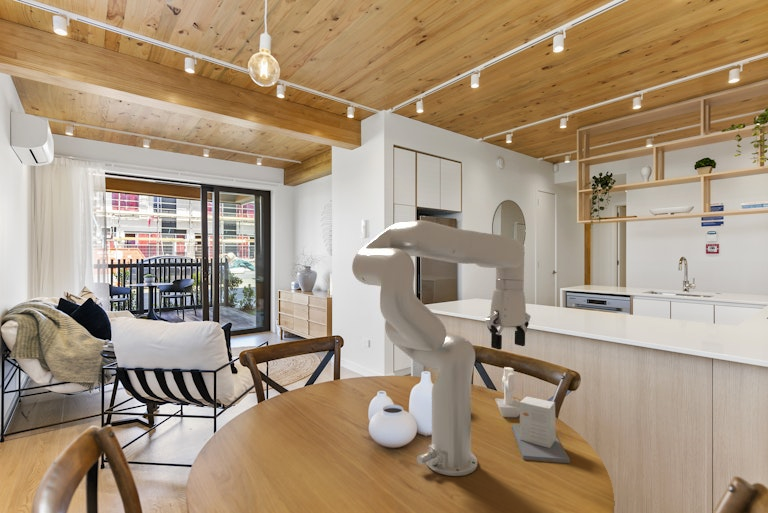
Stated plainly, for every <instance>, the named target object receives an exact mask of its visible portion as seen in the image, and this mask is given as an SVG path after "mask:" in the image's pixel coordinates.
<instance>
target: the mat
mask: <svg viewBox="0 0 768 513" xmlns="http://www.w3.org/2000/svg"><path fill="white" fill-rule="evenodd" d="M511 429H512V433H513V435H514V438H515V441H516V444H517V447H518V449H519V452H520V454H521V458H522V460H525V461H535V462H537V461H538V462H549V463H551V462H552V463H559V464H560V463H561V464H570V463H571V459H570V457H569V455H568V454H567V452H566V450H565V448H564V447H563V445H562V443H561V442H560V440H559V439H558V437H557V436H556V440H555V442H554V443H553V444H552V446H551V447H550V448H548V447H544V446H540V445H537V444H533V443H530V442H526V441H522V440H520V424H519V425H518V424H511Z"/></svg>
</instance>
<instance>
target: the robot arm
mask: <svg viewBox="0 0 768 513" xmlns="http://www.w3.org/2000/svg"><path fill="white" fill-rule="evenodd" d="M412 257H418V258H427V259H431V260H436V261H437V260H438V261H443V262H446V263H447V262H448V263H453V264H468V265H469V264H470V265H472V264H475V265H476V266H478V267H481V268H485V269H486V268H489V269H495V290H493V293H492V297H491V305H490V314H489V316H488V317H486V318H485V323H486V325H487V329H488V330H489V334H491V338H490V340H491V341H490V346H491V349H496V350H502V348H503V347H502V345H503V344H502V343H503V336H502V334H501V333H502V331H503V330H504V328H515V329H516V330H514V344H515V345H516V346H519V347H520V346H521V347H525V346H526V332H527V331H528V326H529V324H530V321H531V320H530V319H531V315H530V314H529V313H528V312H527V310H526V307H527V306H526V297H525V290H524V289H525V287H524V286H525V281H524V280H525V246H524V244H523V243H522V242H520V241H519V240H517V239H516V238H512V237H507V236H505V235H501V234H496V233H487V232H480V231H475V230H469V229H468V230H467V229H461V228H458V227H453V226H448V225H446V224H442V223H438V222H434V221H433V222H432V221H429V220H422V219H421V220H420V219H418V220H409V221H399V222H395V223H394V224H392V225H391V226H389V227H387V228H386V229H385V230H384V231H383V232H381V233H380V234H378V235H377V236H376V237H375V238H373V239H372V240H371V241H370V242H369V243H367V244H365V245H364V246H363V247H361V249H359V250H358V252H357V253H356V254H355V256H354V258H353V260H352V264H351V265H352V266H351V270H352V273H353V275H354V277H355V278H356V280H358V282H360V283H362V284H364V285H368V286H369V285H370V286H377V287H378V286H379V287H380V293H379V306H380V308H379V309H380V312H381V313H380V314H382V317H383V318H384V320H385V324H384V328H385V332H386V336H387V337H388V339H389V341H390V342H391V343H392V344H393V345H394V346H396V348H398V349H399V350H400V351H402V352H403V353H404V354H405V355H407V356H408V357H409V358H411V360H413V361H414V362H416V363H418V364H420V365H422V366H424V367H427V368H430V369H433V370H435V371H437V372H438V374H437V377H436V378H435V380H434V382H433V384H432V387H431V444H429V445H428V450H427V451H426V452H425V453H422V454H419V455H417V456H416V461H417V464H419V465H423V464H426V465H427V467H428V468H430V469H431V470H432V471H434V472H435V473H438V474H441V475H445V476H449V477H450V476H451V477H460V476H462V477H463V476H466V475H469V474H471V473H474V471H475V470H476V469H477V467H478V459H477V457H476V455H475V454H474V453H473V452H472V450H471V449H472V442H471V441H472V434H471V432H472V394H471V393H472V380H473V378H472V377H473V374H474V373H473V371H474V367H475V362H476V350H475V347H474V345H473V343H471V341H470V340H468V339H467V338H465V337H463V336H461V335H458V334H453V333H448V332H447V330H446V327H445V325H444V323H443V321H442V320H441V319H440V318H439V317H438V316H437V315H436V314H435V313H434V312H433V311H432V310H431V309H430V308H429V307H428V306H426V305H425V304H424V303H423V302H422V301H421V300H420V299H419V298H418V297H417V296H416V293H415V289H414V285H415V284H414V283H415V272H416V271H415V263H414V261H413V258H412Z"/></svg>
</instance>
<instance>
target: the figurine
mask: <svg viewBox="0 0 768 513" xmlns="http://www.w3.org/2000/svg"><path fill="white" fill-rule="evenodd" d="M516 378H517V376H516V374H515V373H514V368H512V367H509V366H508V367H507V366H504V367H503V376H502V379H501V390H502V391H503V393H504V394H503V396H504V397H503V398H495V399H494V401H495V403H496V404H497V407H498V410H499V412H500V415H502V417H503V418H518V417H519V416H520V401H519V400H518V399H517V398H514V391H515V389H516V387H517V384H516V383H517V382H516V381H517V379H516Z"/></svg>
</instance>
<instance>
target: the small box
mask: <svg viewBox="0 0 768 513" xmlns="http://www.w3.org/2000/svg"><path fill="white" fill-rule="evenodd" d="M519 403H520V414H519V425H520V440H522V441H526V442H530V443H533V444H537V445H540V446H544V447H548V448H550V447H551V446H552V444H553V443H554V442H555V440H556V437H557V435H556V402H555V401H550V400H546V399H542V398H536V397H532V396H526V395H525V397H524V398H523V399H522V400H520V401H519Z"/></svg>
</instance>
